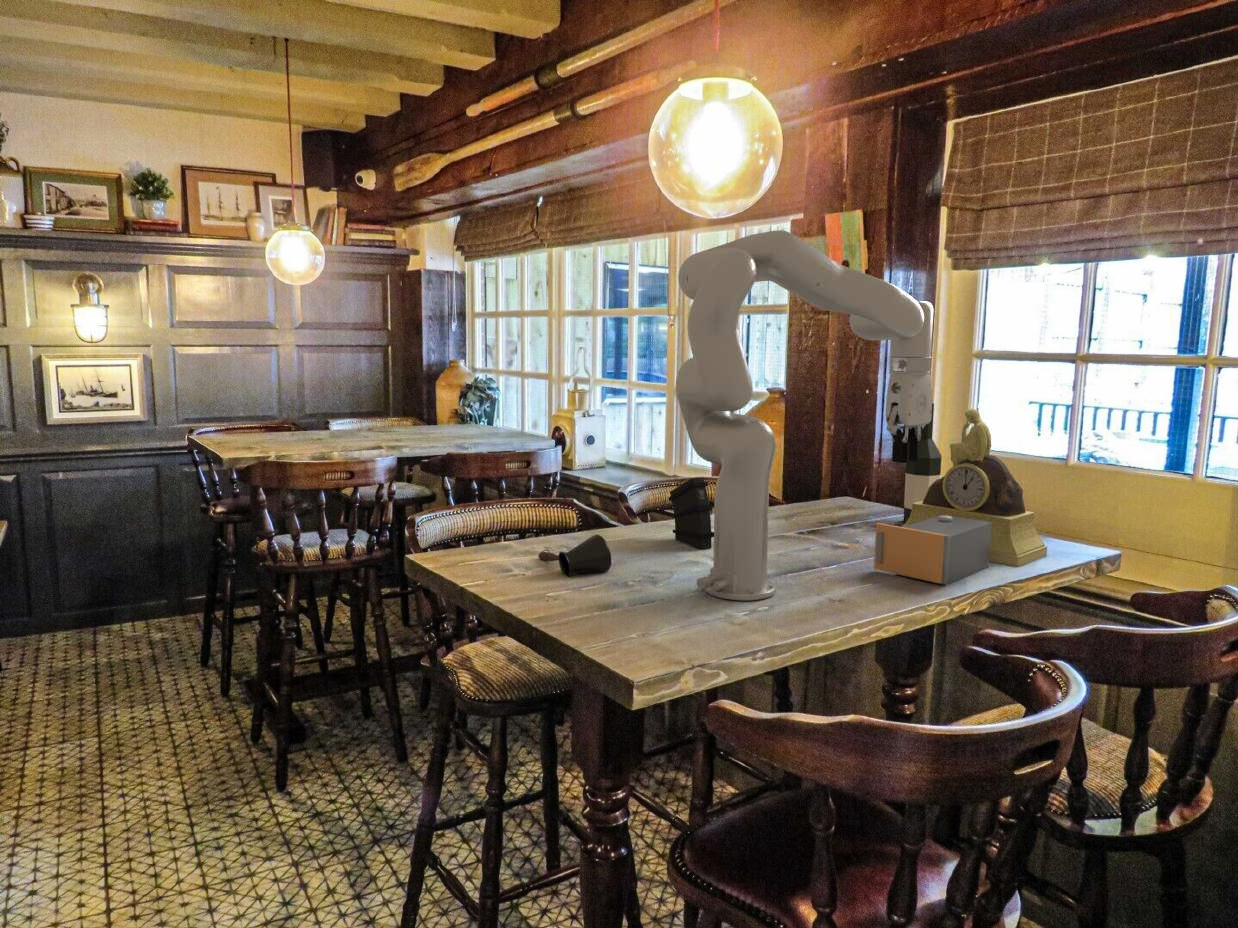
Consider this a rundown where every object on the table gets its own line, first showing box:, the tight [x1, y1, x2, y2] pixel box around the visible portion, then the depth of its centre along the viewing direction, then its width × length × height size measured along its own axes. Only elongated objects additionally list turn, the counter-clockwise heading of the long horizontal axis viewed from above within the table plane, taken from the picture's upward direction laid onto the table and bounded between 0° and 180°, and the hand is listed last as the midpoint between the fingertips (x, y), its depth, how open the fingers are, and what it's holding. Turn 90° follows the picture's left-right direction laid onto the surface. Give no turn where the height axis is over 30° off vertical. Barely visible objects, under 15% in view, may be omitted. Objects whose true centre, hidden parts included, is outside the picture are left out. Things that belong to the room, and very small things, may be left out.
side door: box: [873, 522, 950, 585], centre depth 161 cm, size 2×14×9 cm, turn 43°
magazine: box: [668, 476, 714, 551], centre depth 189 cm, size 4×13×15 cm, turn 27°
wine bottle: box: [902, 402, 943, 525], centre depth 205 cm, size 8×8×30 cm
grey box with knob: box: [896, 515, 992, 586], centre depth 168 cm, size 20×10×10 cm, turn 133°
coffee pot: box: [538, 534, 613, 578], centre depth 171 cm, size 8×18×8 cm
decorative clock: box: [900, 408, 1048, 567], centre depth 183 cm, size 28×13×30 cm, turn 40°
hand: (905, 460), depth 168 cm, fingers open, 3 cm apart
